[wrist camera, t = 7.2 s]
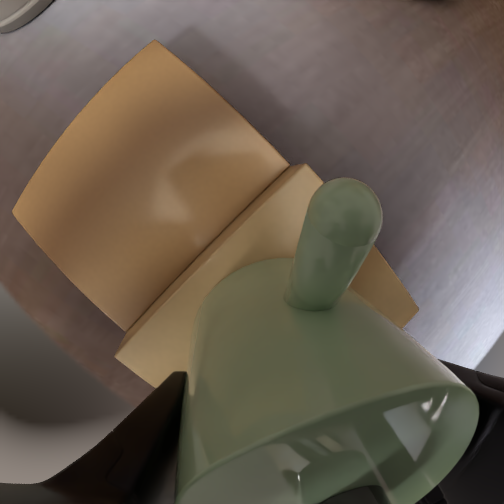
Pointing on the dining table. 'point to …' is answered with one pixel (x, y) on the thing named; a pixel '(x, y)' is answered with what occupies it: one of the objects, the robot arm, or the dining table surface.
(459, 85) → the dining table surface
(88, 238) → the stand
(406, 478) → the kettle
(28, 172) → the dining table surface
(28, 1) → the travel mug
